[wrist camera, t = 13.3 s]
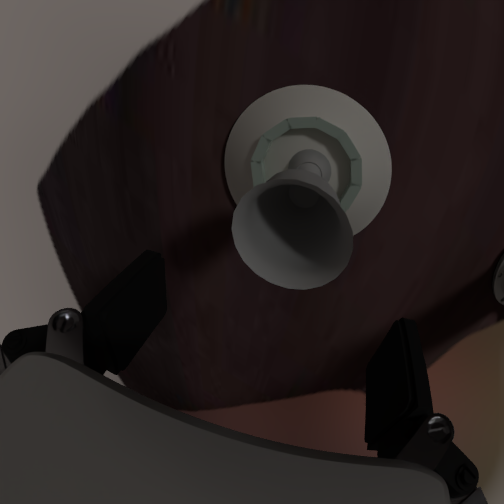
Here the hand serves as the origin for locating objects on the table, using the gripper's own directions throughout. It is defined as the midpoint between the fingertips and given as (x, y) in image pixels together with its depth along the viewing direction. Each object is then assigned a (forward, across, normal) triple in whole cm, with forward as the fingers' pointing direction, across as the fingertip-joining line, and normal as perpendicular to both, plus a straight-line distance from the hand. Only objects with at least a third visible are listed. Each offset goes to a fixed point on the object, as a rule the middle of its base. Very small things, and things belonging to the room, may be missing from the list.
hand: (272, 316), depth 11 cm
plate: (+25, +1, 0) cm, 25 cm away
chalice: (+25, 0, 0) cm, 25 cm away
